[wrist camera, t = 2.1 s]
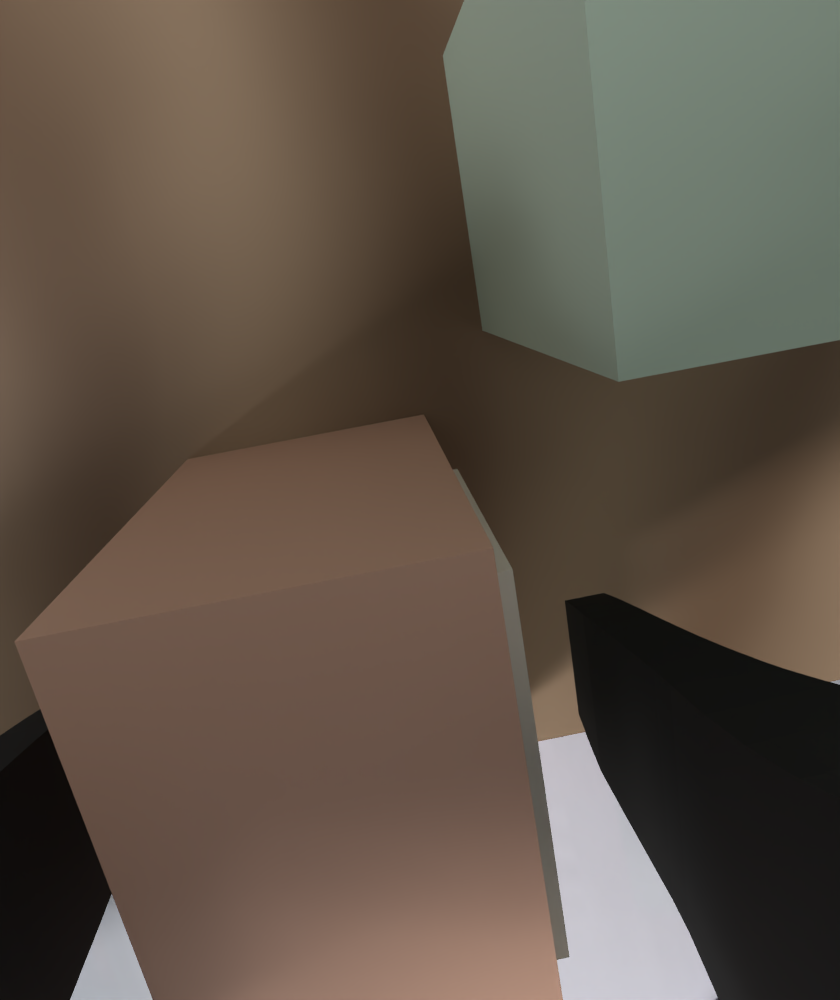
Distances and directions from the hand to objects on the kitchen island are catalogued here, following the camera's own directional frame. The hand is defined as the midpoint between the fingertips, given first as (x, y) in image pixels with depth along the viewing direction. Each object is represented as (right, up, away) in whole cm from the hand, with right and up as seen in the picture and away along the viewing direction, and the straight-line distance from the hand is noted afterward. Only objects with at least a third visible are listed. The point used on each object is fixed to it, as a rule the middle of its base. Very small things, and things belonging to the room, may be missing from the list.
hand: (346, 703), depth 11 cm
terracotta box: (0, +1, +3) cm, 3 cm away
